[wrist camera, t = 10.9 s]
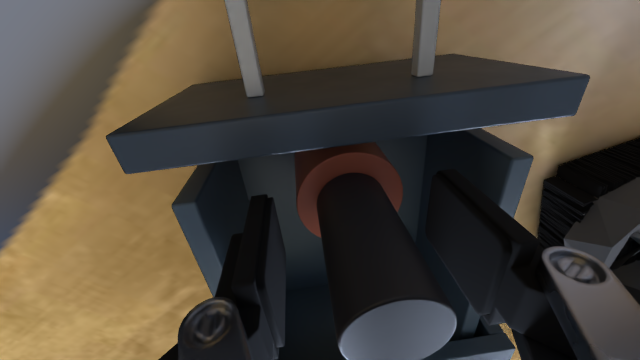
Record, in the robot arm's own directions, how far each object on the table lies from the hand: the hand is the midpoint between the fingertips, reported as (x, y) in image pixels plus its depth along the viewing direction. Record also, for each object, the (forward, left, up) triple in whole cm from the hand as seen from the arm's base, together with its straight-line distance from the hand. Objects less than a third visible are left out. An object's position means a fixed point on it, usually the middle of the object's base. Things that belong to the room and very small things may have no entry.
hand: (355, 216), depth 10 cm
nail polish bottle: (0, 0, -5) cm, 5 cm away
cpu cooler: (-21, +7, -8) cm, 23 cm away
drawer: (0, +1, -6) cm, 7 cm away
